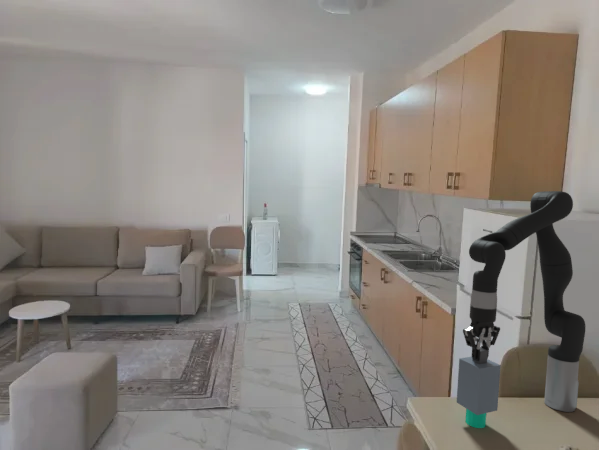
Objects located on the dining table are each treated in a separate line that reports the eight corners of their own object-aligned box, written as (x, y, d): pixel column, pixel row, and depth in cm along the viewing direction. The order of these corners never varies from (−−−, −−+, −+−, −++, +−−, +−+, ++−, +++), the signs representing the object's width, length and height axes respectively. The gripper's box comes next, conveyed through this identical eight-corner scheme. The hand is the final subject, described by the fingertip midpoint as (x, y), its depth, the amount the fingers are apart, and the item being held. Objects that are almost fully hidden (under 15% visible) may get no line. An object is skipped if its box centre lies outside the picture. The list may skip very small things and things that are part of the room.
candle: (487, 429, 130) (490, 391, 129) (467, 426, 131) (469, 389, 130) (483, 419, 136) (485, 383, 135) (463, 416, 137) (466, 381, 136)
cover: (476, 398, 139) (479, 343, 138) (497, 410, 131) (501, 352, 130) (456, 402, 135) (460, 346, 134) (477, 415, 128) (481, 355, 126)
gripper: (490, 300, 137) (486, 352, 138) (457, 303, 132) (453, 357, 133) (510, 306, 130) (506, 361, 132) (475, 309, 125) (472, 366, 126)
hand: (479, 358), depth 132 cm, fingers closed on cover, 3 cm apart
